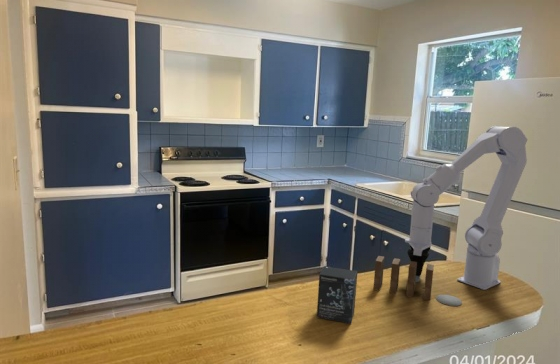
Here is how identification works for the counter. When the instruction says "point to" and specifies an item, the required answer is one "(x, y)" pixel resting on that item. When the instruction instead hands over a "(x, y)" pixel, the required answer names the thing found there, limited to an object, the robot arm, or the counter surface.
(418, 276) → the domino head
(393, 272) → the domino
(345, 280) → the box
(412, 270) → the domino
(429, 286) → the domino
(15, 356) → the counter surface
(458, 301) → the disc
